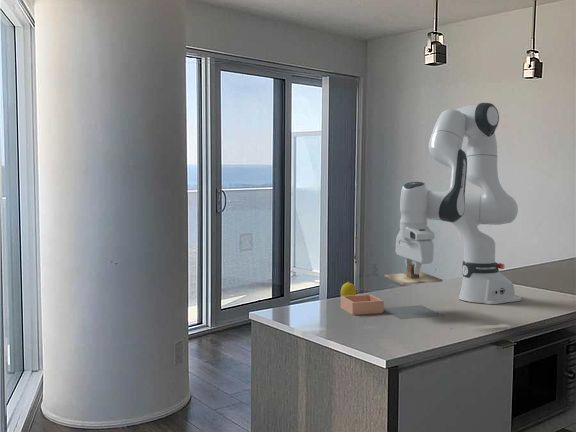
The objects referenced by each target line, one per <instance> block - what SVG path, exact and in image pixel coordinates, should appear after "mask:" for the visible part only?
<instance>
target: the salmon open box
mask: <svg viewBox="0 0 576 432" xmlns="http://www.w3.org/2000/svg"><path fill="white" fill-rule="evenodd" d="M384 304H385V303H384V300H383V299H381V298H379V297H377V296H375V295H373V294H371V293H369V294H356V295H351V296H341V295H340V309H342V310H344V311H345V312H347V313H348V314H349V315H352V316H357V315H369V314H371V315H372V314H383V313H384V310H383V309H384V308H385V307H384Z"/></svg>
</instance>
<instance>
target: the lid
mask: <svg viewBox="0 0 576 432" xmlns="http://www.w3.org/2000/svg"><path fill="white" fill-rule="evenodd" d="M414 266H415V264H414V263H412V265H407V266H406V272H404V273H392V274H391V273H389V274H384V277H385V278H388V279H389V280H392V281H394V282H397V283H398V284H400V285H404V286H405V285H417V284H428V283H429V284H430V283H441V282H443V279H441V278H439V277H436V276H435V275H434V276H433V275H431V274H429V273H426V272H423V271H420V274H414V273H413V268H414Z"/></svg>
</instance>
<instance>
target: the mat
mask: <svg viewBox="0 0 576 432" xmlns="http://www.w3.org/2000/svg"><path fill="white" fill-rule="evenodd" d="M383 312H386V313H388V314H390V315H391V316H394V317H396V318H398V319H399V320H406V319H421V318H431V317H432V318H433V317H434V318H435V317H444V316H445V317H446V315H445V314H442V313H441V312H439V311H435V310H433V309H431V308H429V307H426V306H424V305H421V304H419V305H405V306H391V307H390V306H388V307H384V309H383Z"/></svg>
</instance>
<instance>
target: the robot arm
mask: <svg viewBox="0 0 576 432" xmlns="http://www.w3.org/2000/svg"><path fill="white" fill-rule="evenodd" d="M499 121H500V113H499V111H498V108H497V107H496V106H495V104H493V103H491V102H480V103H475V104H467V105H464V106H461V107H458V108H456V109H451V108H449V109H445V110H444V111H442V112H441V113H440V114H439V116H438V118H437V120H436V122H435V124H434V127H433V129H432V132H431V135H430V138H429V141H428V152H429V154H430V156H431V157H432V158H433V159H434V160H435V161H436V162H438V163H439V164H441V165H444V166H446V167H449V168H451V174H450V182H449V183H450V184H449V189H447V190H445V191H435V190H434V191H433V190H429V189H427V185H426V183H425V182H422V181H409V182H406V183H405V184H403V185H402V187H401V190H400V192H401V193H400V199H399V200H400V201H399V211H400V220H399V231H398V234H396V237H395V238H396V239H395V249H394V250H395V254H396V255H397V256H400V257H402V258H404V263H405V266H406V267H407V265H412V264H415V266H414V268H413V273H414V274H420V272H421V271H420V270H421V267H422V265H425V264H427V265H428V264H432V262H433V260H434V250H435V249H434V241H433V240H435V232H433V231H432V230H431V228H430V227H429V226H428V220H430V221H431V220H432V221H442V222H447V223H452V225H453V226H455V227H456V229H457V230H458V231H459V233H460V236H461V237H462V238H461V239H462V244H463V261H462V269H461V270H462V271H461V274H462V281H461V288H460V292H459V296H458V299H459V300H461V301H465V302H469V303H478V304H486V305H487V304H488V305H498V304H504V303H513V302H520V301H522V297H521V296H519V295H517V294H516V293H515V286H514V283H513V282H512V281H511V280H510V279H508V277H506V276H505V275H503V273H501V272H500V270H504V269H505V267H506V266H505V264H504V263H500V262H496V242H495V240H494V238H493V237H491V236H490V235H488V234H486V233H485V232H483V231H480V229H479V227H478V226H479V225H489V226H490V225H495V226H499V225H506V224H511V223H513V222H514V221H515V219H516V218H517V216H518V212H519V208H518V203H517V201H516V200H515V199H514V198H513V197H512V196H511V195H509V194H508V193H507V191H506V190H504V189H503V187H502V185H501V183H500V180H499V175H498V145H497V137H496V133H495V131H496V129H497V128H498V125H499ZM464 138H467V145H466V152H465V151H464V150H463V147H462V146H463V141H464ZM466 181H468V182H470V184H473V186H474V185H475V186H477V187H479V188H480V189H481V190H482V191H483V193H482V194H470V193H469V194H465V193H466V185H467V184H466ZM413 261H414V262H413Z"/></svg>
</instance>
